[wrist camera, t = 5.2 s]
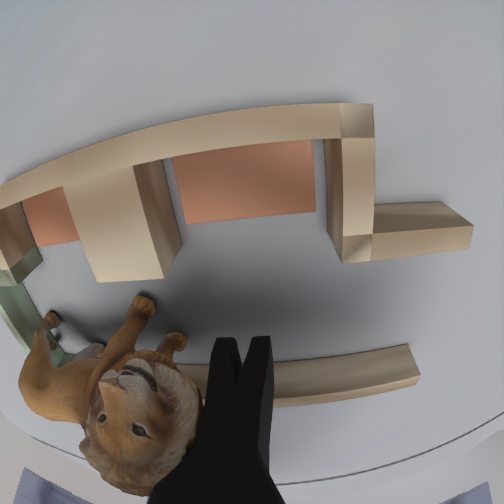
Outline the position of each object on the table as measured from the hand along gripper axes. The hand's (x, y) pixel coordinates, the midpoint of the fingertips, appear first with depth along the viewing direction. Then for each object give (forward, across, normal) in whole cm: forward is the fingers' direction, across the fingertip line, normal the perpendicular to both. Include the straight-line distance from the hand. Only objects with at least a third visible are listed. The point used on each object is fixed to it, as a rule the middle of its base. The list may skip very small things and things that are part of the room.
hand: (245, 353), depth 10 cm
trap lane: (+3, +3, -1) cm, 5 cm away
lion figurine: (+3, +7, +1) cm, 8 cm away
